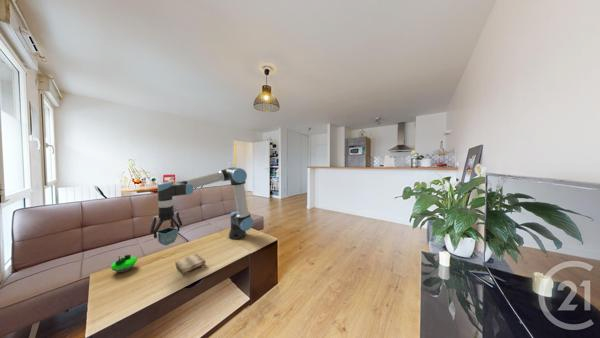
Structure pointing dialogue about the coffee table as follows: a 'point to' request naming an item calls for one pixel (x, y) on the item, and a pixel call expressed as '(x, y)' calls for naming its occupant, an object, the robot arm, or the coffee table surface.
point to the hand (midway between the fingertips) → (167, 239)
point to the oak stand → (190, 263)
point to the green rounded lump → (124, 263)
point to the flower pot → (167, 235)
